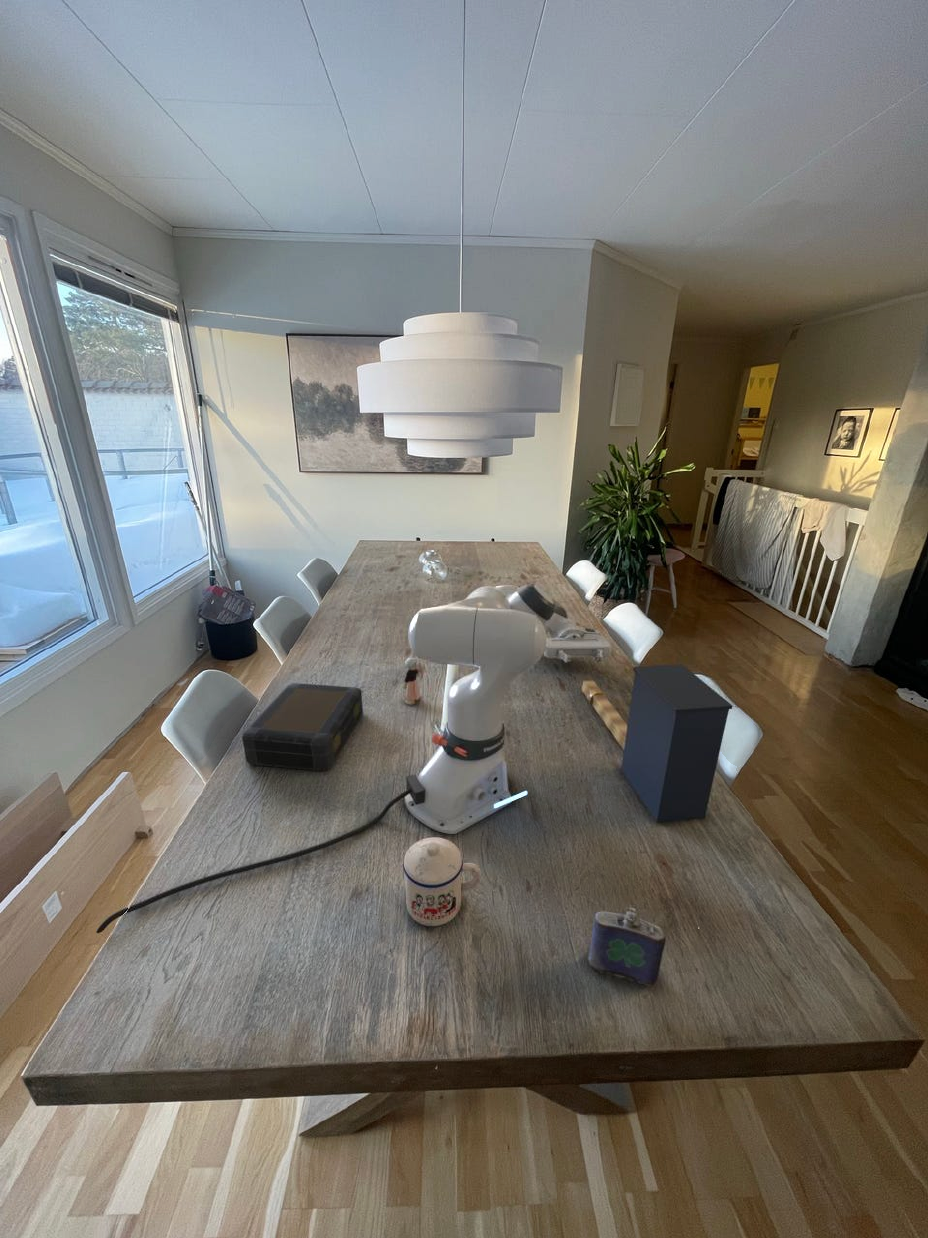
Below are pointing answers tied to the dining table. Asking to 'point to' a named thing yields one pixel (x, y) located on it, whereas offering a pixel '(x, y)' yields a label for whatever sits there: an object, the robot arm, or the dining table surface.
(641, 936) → the flask
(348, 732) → the black hard case
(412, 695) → the grandmother figurine
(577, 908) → the dining table surface
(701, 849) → the dining table surface
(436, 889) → the teacup with lid
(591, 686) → the ring rod
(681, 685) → the stand
